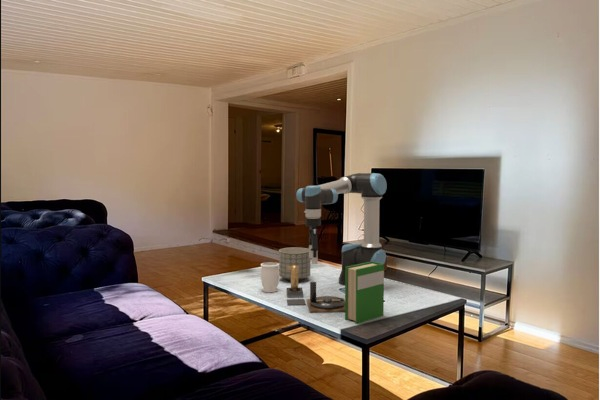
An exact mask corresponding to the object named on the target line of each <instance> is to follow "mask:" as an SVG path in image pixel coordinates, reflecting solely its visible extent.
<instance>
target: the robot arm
mask: <svg viewBox="0 0 600 400" xmlns="http://www.w3.org/2000/svg"><path fill="white" fill-rule="evenodd" d="M387 186H388V185H387V180H386V178H385V177H384V175H382V174H381V173H375V172H372V173H364V172H362V173H361V172H360V173H359V172H358V173H352V174H349V175H345V176H342V177H340V178H339V179H337V180H334V181H330V182H326V183H322V184H318V185H307V186H306V187H303V188H302V187H301V188H299V189H298V190H297V191H296V195H295V196H296V200H297V201H298V202H299V203H303V204H304V205H305V210H304V211H303V213H305V221H304V223H305V226H306V227H308V228H309V229H308V249H309V258H310V259H311V265H318V261H319V260H318V259H319V257H318V255H319V254H318V252H319V251H318V250H319V245H318V233H319V231H318V228H317V227H320V226H321V225H322V218H321V217H322V205H331V204H335V203H337V201H338V198H339V194H344V195H345V194H360V196H361V199H362V200H363V242H362V243H348V244H347V243H346V244H344V245H342V247H341V271H340V274H339V277H338V283H339V284H340V285H342V286H345V267H347V266H352V265H357V264H361V263H366V262H371V261H372V262H377V263H382V264H384V265H385V263H386V259H387V254H386V251H385V250H384V249H383V246H382V244H381V243H380V200H381V199H383V195H384V194H385V193H386V192H387V189H388V188H387Z"/></svg>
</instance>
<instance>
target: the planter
mask: <svg viewBox="0 0 600 400" xmlns="http://www.w3.org/2000/svg"><path fill="white" fill-rule="evenodd" d="M278 263H279V267H278V268H279V278H280V277H281V278H283V279H285V280H286V281H289V282H291V270H287V266H291V265H298V282H300V281H302V280H304V279H306V278H309V277H311V258H309V248H308V247H307V248H305V247H284V248H280V249H278Z"/></svg>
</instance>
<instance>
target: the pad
mask: <svg viewBox="0 0 600 400" xmlns="http://www.w3.org/2000/svg"><path fill="white" fill-rule="evenodd" d="M286 303H287V306H307V305H306V303H307V302H306V301H305V298H292V299H291V298H288V299H287V298H286Z"/></svg>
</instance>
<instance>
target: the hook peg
mask: <svg viewBox="0 0 600 400" xmlns="http://www.w3.org/2000/svg"><path fill="white" fill-rule="evenodd" d="M287 270H291V281H290V288H291V291H298V288H299V281H298V265H291V266H287Z"/></svg>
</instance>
